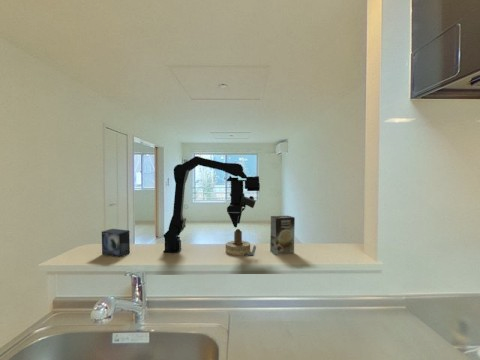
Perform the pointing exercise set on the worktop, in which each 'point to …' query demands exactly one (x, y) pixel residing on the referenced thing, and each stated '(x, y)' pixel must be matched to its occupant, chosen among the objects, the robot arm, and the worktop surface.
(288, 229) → the coffee box
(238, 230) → the brown cylinder
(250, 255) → the gray l-shaped bar
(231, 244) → the bead
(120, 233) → the small box
